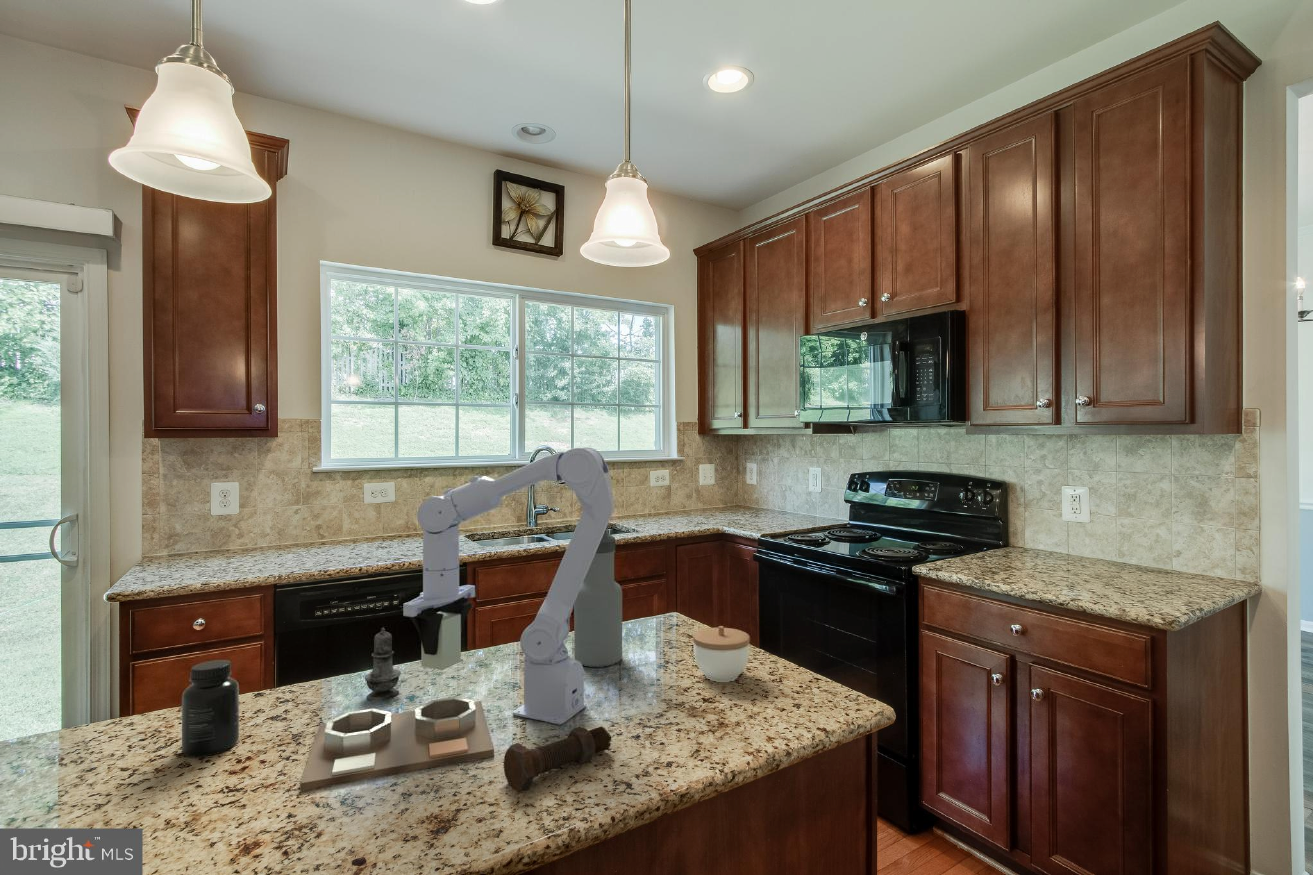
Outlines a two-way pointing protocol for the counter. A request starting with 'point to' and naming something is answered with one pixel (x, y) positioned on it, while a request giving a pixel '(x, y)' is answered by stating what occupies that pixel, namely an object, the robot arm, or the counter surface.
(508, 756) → the bolt
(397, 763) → the walnut board
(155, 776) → the counter surface
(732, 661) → the lidded jar
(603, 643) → the water bottle
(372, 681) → the salt shaker
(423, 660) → the sage plug
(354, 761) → the tags
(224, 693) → the supplement bottle
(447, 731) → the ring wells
